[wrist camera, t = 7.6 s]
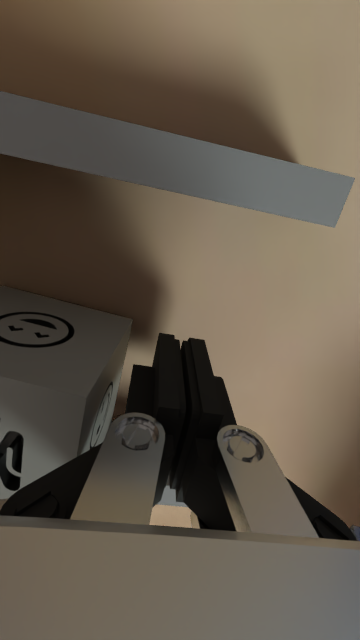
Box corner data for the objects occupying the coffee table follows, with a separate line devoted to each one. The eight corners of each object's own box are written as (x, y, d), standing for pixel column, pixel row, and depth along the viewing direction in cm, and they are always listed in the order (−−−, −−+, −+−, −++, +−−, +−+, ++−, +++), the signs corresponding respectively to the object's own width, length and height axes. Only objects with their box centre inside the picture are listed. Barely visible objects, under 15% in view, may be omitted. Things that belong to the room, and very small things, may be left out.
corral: (-123, 74, 9) (-257, 27, 6) (304, 177, 10) (354, 177, 7) (-63, 419, 14) (-118, 478, 11) (210, 451, 16) (218, 509, 13)
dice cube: (111, 422, 13) (62, 539, 9) (-2, 394, 13) (-113, 498, 8) (132, 319, 11) (86, 397, 7) (3, 285, 11) (-135, 342, 7)
